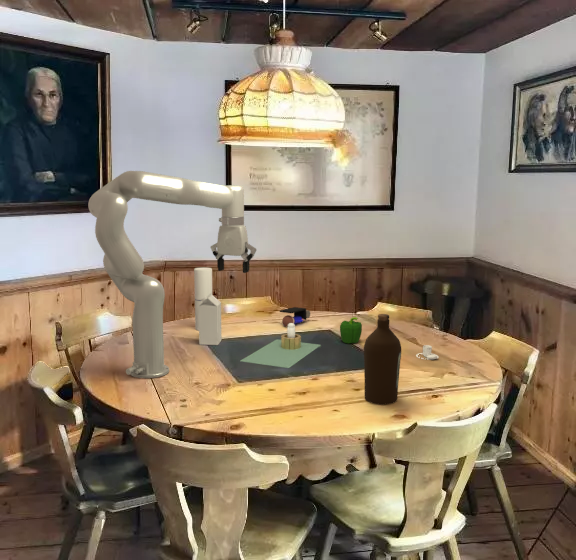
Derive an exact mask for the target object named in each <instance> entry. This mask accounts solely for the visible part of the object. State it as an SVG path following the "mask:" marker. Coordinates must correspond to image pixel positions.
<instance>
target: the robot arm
mask: <svg viewBox="0 0 576 560" xmlns="http://www.w3.org/2000/svg"><path fill="white" fill-rule="evenodd" d="M244 191H245V190H244V187H243V185H234V184H233V185H232V184H231V185H230V184H229V185H222V184H217V183H209V182H203V181H198V180H194V179H188V178H184V177H178V176H172V175H166V174H161V173H160V174H159V173H155V172H149V171H142V170H126V171H124V172H123V173H120V174H119V175H117V176H116V177H115V178H113V179H112V180H111V181H109V182H107V184H105V185H103V186H102V187H101V188H99V189H98V190H97V191H95V192H94V193H93V194H91V197H90V198H89V200H88V210H89V213H90V214H91V215H92V216H94V218H96V220H95V221H96V222H95V225H94V226H95V227H94V228H95V229H94V233H95V238H96V240H97V243H98V244H99V247H100V248H101V250H102V252H103V253H104V255H103V258H102V262H103V267H104V270H105V271H106V273H107V274H108V276H109V278H110V279H111V280H112V282H113V283H114V285H115V286H116V287H117V289H118V291H119V292H120V293H121V294H122V296H123V297H124V298H125V299H127V300H128V301H130V302H133V303H134V304H133V310H132V318H131V319H132V341H133V345H132V346H133V361H132V366H130V367H128V368H126V370H125V373H126V375H128V376H129V375H130V376H131V377H134V378H139V379H153V378H160V377H163V376H165V375H167V374H169V372H170V367H169V366H168V365H166V364H165V347H164V342H165V341H164V303H165V297H166V296H165V293H166V292H165V288H164V286H163V284H162V283H161V282H160V280H158V279H157V278H155V277H153V276H150V275H147V274H143V272H144V270H145V263H144V260H143V258H142V256H141V255H140V253H139V251H137V248H135V246H134V244H133V243H132V241H131V240H130V238H129V237H128V235H127V233H126V230H125V227H124V223H125V219H126V217H127V213H128V209H129V206H128V205H129V204H128V202H130V201H131V200H132V199H139V200H145V201H154V202H160V203H166V204H167V203H168V204H172V205H185V206H187V205H189V206H200V207H205V208H212V209H221V217H219V218H218V222H220V223H221V225H220V226H219V228H218V232H217V242H216V243H215V244H212V245H210V249H211V252H212V255H213V256H214V257H215V259H216V261H217V262H216V263H217V264H216V265H217V271H218V272H222V271H224V270H225V259H224V257H225V256H234V257H241V258H242V259H243V261H242V273H243V274H246V273H249V271H250V261H251V260H252V259H253V257H255V254H256V252H257V248H256V247H254V246H253V245H251V244H250V243H249V240H248V239H249V237H248V232H247V227H246V226H245V194H244V193H245V192H244ZM249 251H250V252H249Z"/></svg>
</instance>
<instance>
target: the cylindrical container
mask: <svg viewBox="0 0 576 560" xmlns="http://www.w3.org/2000/svg"><path fill="white" fill-rule="evenodd" d="M193 269H194V270H193V273H194V275H193V280H194V282H193V283H194V285H193V286H194V316H195V319H194V321H195V322H194V324H195V325H194V326H195V328H194V329H195V330H196V331H198V332H199V305H200V304H201V303H202V301H201V299H202V298H204V297H205V296H206V298H208V295H209V294H210V293H211V292H212V293H213V268H212V267H195V268H193Z"/></svg>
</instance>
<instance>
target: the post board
mask: <svg viewBox="0 0 576 560" xmlns="http://www.w3.org/2000/svg"><path fill="white" fill-rule="evenodd" d="M286 328H287V330H286V332H287V333H286V334H287V338H295V334H296V324H293V323H289V324H288V326H287V327H286ZM318 348H322V345H321V344H317V343H309V342H303V341H301V348H299V349H294V350H290V349H283V348H282V347H281V339H274V340H273V341H271V342H269V343H267V344H266V345H264V346H262V347H261V348H259V349H258V350H256V351H254V352H253V353H251V354H249V355H246V357H244V358H243V359H241V360H240V362H241V363H243V362H244V363H249V364H256V365H258V364H259V365H265V366H272V367H277V368H285V369H289V368H291V367H292V366H294V365H296V363H298V362H299V361H301V360H302V359H304V358H305V357H306V356H308V355H309V354H311V353H313V351H315V350H316V349H318Z"/></svg>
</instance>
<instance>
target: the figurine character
mask: <svg viewBox="0 0 576 560" xmlns="http://www.w3.org/2000/svg"><path fill="white" fill-rule="evenodd" d="M279 313H286V314H287V315H284V317H283V318H282V321H281V322H282V325H283V326H284V327H285V328H287V326H288V324H289V323H293V324H294V325H296V324H300V323H301V324H303V323H304V324H305V323H306V320H307V319H309V318H310V317H311V311H310V310H307V307H299V306H298V307H297V306H294V307H289V308H283V309H281V310H279ZM288 314H289V315H288ZM290 314H293V316H292V315H290Z"/></svg>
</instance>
